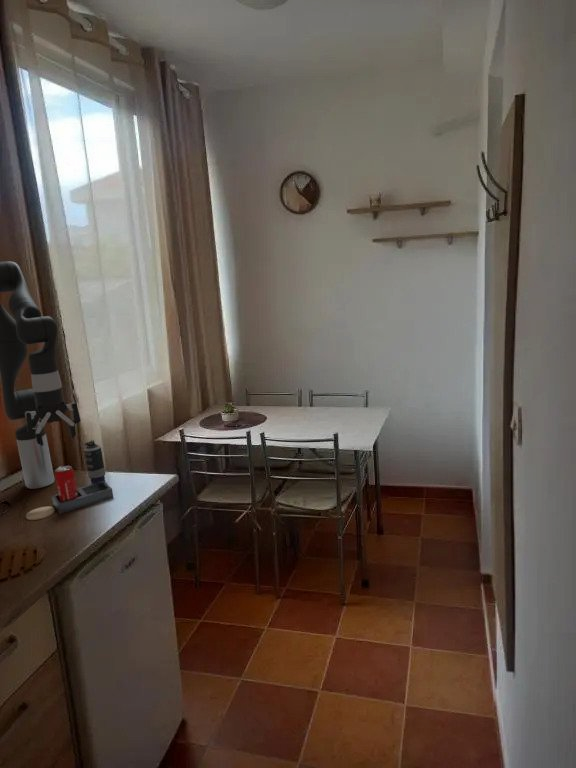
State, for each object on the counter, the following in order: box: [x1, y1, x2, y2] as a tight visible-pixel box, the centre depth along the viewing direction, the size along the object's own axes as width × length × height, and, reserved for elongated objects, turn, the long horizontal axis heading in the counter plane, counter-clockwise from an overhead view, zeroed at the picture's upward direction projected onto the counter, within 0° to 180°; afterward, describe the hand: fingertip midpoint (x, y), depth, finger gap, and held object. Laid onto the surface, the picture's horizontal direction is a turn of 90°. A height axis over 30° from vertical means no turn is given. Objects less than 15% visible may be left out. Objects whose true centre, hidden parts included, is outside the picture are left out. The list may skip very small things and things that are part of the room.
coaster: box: [25, 506, 56, 521], centre depth 162 cm, size 8×8×1 cm
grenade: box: [79, 439, 106, 485], centre depth 182 cm, size 5×7×15 cm
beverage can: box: [54, 465, 78, 502], centre depth 165 cm, size 5×5×12 cm
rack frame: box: [51, 481, 114, 515], centre depth 168 cm, size 9×16×3 cm, turn 125°
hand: (57, 441), depth 158 cm, fingers open, 8 cm apart
